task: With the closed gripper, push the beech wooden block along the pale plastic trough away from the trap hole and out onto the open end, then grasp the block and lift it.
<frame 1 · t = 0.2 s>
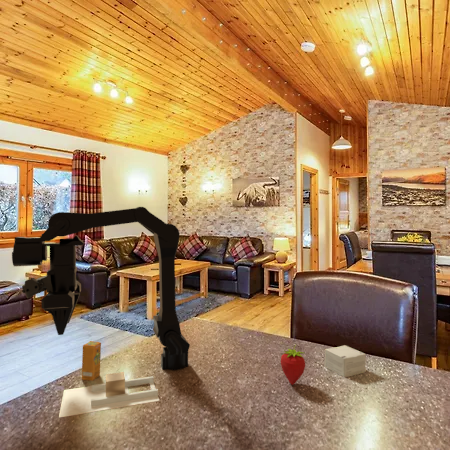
hand: (63, 328, 86), 14 cm above the kitchen counter, tool pointing down, fingers open, 9 cm apart
trough: (110, 401, 79), on the kitchen counter
strawberry: (292, 384, 88), on the kitchen counter
wooden block: (115, 394, 80), point 1 cm above the kitchen counter, touching trough
supplement box: (91, 383, 88), on the kitchen counter
small box: (344, 370, 97), on the kitchen counter
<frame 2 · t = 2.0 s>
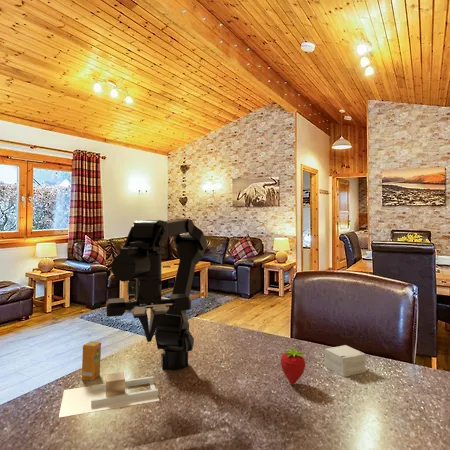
hand: (149, 341, 82), 13 cm above the kitchen counter, tool pointing down, fingers closed
nothing on the kitchen counter moved.
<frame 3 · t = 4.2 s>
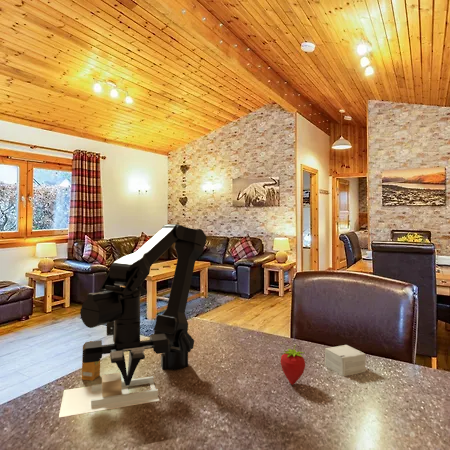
hand: (127, 384, 80), 3 cm above the kitchen counter, tool pointing down, fingers closed
wooden block: (111, 394, 79), point 2 cm above the kitchen counter, touching gripper, trough
everything else where it was.
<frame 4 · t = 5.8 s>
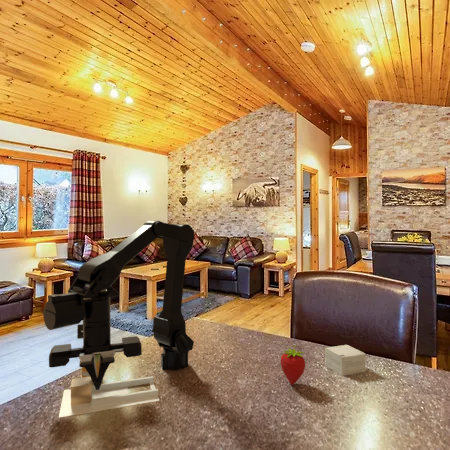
hand: (97, 389, 78), 3 cm above the kitchen counter, tool pointing down, fingers closed
wooden block: (81, 399, 77), point 1 cm above the kitchen counter, touching gripper, trough
everything else where it was.
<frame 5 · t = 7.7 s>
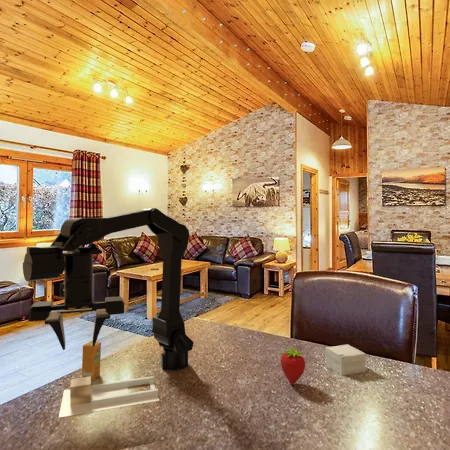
hand: (79, 347, 77), 13 cm above the kitchen counter, tool pointing down, fingers open, 6 cm apart
wooden block: (80, 399, 77), point 1 cm above the kitchen counter, touching trough
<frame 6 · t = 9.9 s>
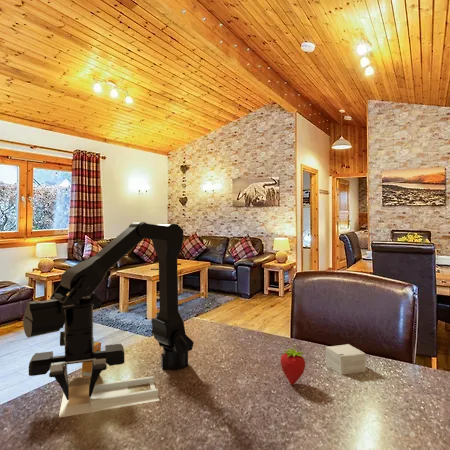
hand: (79, 397, 77), 2 cm above the kitchen counter, tool pointing down, fingers closed on wooden block, 4 cm apart
wooden block: (79, 399, 77), point 2 cm above the kitchen counter, touching gripper
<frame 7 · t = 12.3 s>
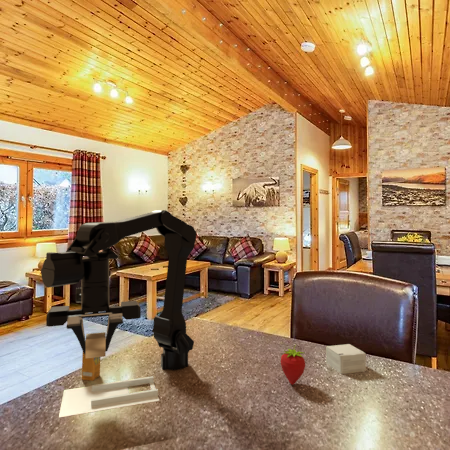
hand: (95, 351, 77), 12 cm above the kitchen counter, tool pointing down, fingers closed on wooden block, 4 cm apart
wooden block: (95, 354, 77), point 11 cm above the kitchen counter, touching gripper
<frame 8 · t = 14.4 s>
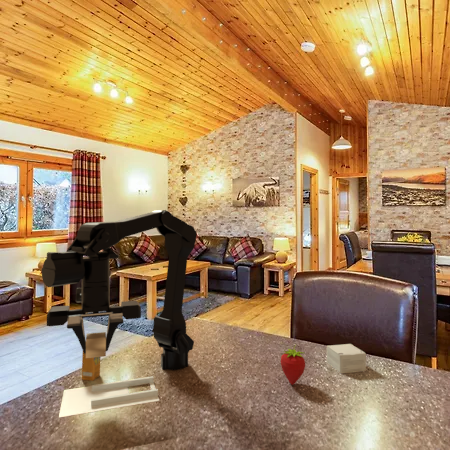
hand: (96, 351, 77), 12 cm above the kitchen counter, tool pointing down, fingers closed on wooden block, 4 cm apart
wooden block: (95, 353, 77), point 12 cm above the kitchen counter, touching gripper
at the end: wooden block point 11.5 cm above the kitchen counter; the gripper is holding wooden block; wooden block moved 10.9 cm from its start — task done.
